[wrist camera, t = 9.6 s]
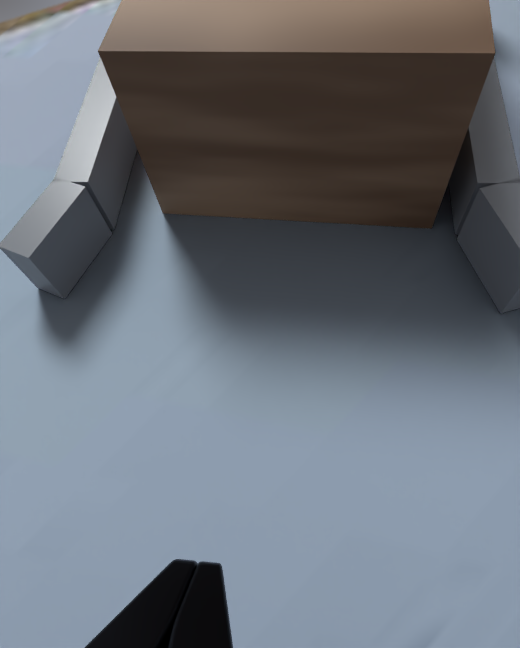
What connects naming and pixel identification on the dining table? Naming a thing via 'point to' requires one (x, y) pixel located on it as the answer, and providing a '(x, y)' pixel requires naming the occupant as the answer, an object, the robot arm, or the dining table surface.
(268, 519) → the dining table surface
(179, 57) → the walnut box
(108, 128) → the box pocket
